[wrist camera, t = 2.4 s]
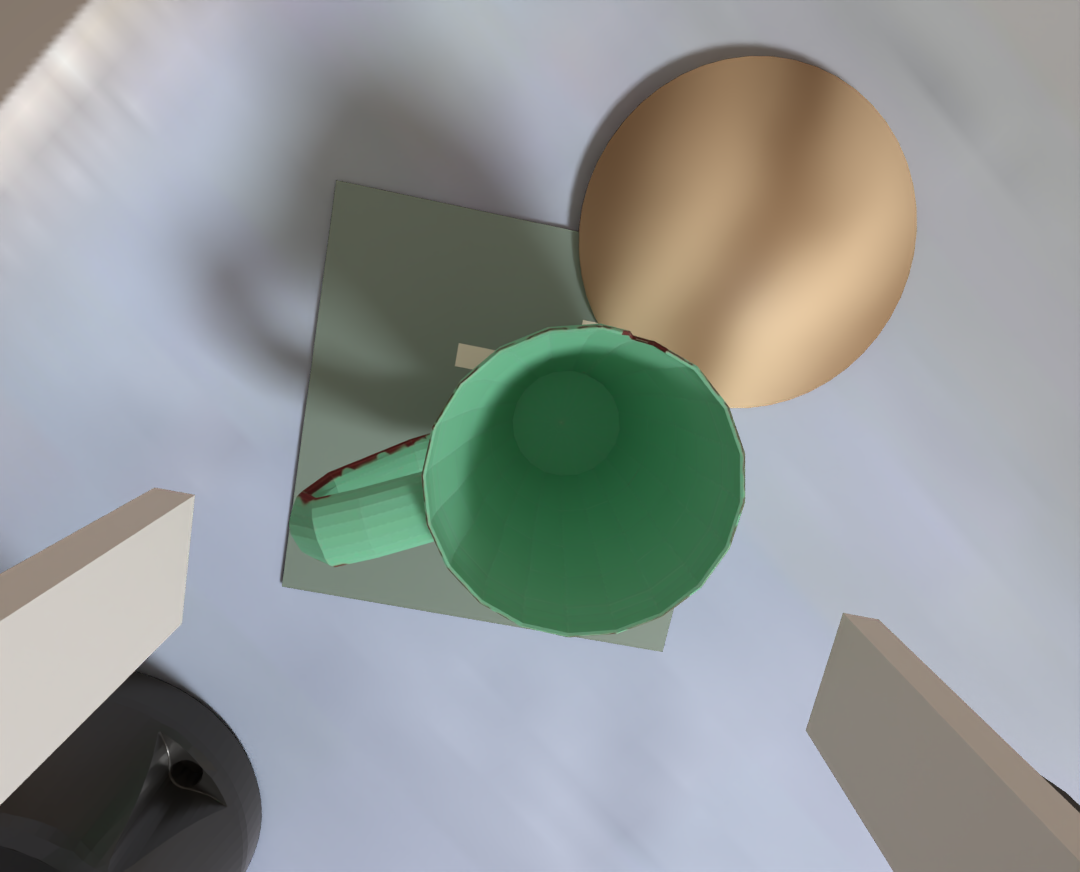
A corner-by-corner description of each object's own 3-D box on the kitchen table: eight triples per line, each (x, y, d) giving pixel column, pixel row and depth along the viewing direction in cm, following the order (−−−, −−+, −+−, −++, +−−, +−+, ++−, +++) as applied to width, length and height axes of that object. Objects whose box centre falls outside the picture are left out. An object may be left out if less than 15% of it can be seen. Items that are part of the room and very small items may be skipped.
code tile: (283, 584, 32) (281, 586, 32) (337, 180, 29) (336, 180, 28) (661, 650, 34) (662, 652, 33) (760, 270, 30) (761, 270, 30)
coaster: (548, 372, 31) (548, 373, 30) (619, 24, 28) (621, 19, 27) (853, 432, 32) (860, 435, 31) (953, 102, 29) (962, 99, 28)
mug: (654, 286, 30) (718, 289, 20) (694, 502, 32) (770, 601, 22) (319, 363, 30) (219, 404, 20) (381, 572, 32) (318, 699, 22)
